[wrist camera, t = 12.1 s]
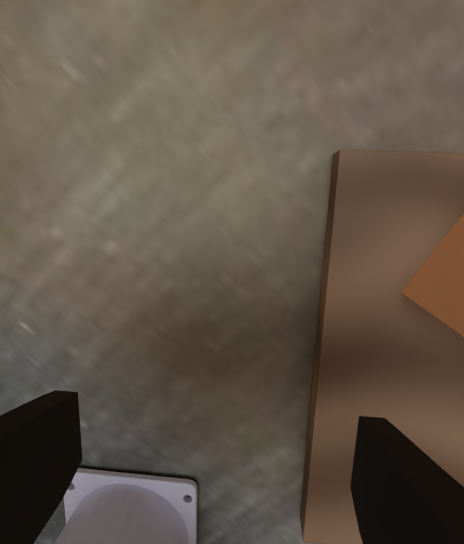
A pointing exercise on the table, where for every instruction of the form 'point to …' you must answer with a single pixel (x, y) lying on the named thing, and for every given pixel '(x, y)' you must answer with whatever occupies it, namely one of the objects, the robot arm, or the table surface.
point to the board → (381, 327)
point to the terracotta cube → (442, 280)
